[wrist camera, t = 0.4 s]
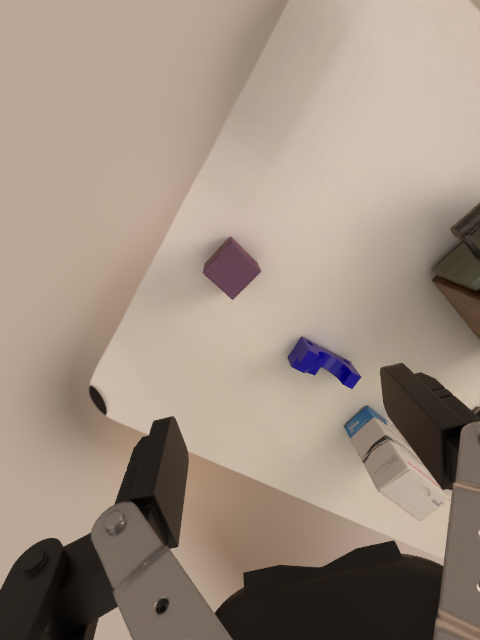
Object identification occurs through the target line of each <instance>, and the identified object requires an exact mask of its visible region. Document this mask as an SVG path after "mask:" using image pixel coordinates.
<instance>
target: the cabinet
mask: <svg viewBox="0 0 480 640" xmlns="http://www.w3.org/2000/svg"><path fill="white" fill-rule="evenodd" d="M432 281H433V283H434V284H435V285H436V286H437V288H438V289H439V290H440V291H441V292H442V294H443V295H444V296H445V297H446V299H447V300H448V301H449V302H450V304H451V305H452V306H453V307H454V308H455V310H456V311H457V312H458V313H459V315H460V316H461V317H462V318H463V319H464V321H465V322H466V323H467V324H468V326H469V327H470V328H471V329H472V331H473V332H474V333H475V334H476V335H477V337H478V338H479V339H480V293H478V292H475V291H473V290H470V289H468V288H465V287H463V286H460V285H458V284H455V283H453V282H451V281H450V280H447V279H445V278H442V277H440V276H436V277H435V278H434V279H433V280H432Z"/></svg>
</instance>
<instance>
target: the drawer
mask: <svg viewBox="0 0 480 640" xmlns="http://www.w3.org/2000/svg"><path fill="white" fill-rule="evenodd" d="M479 224H480V203H479V204H477V205H476V206H475V207H474V208H473V209H472V210H471V211H469V212H468V213H467V214H466V215H465V216H464V217H463V218H462V219H460V220H459V221H458V222H457V223H456V224H455V225H454V226H452V227H451V229H450V230H451V232H452V233H453V235H455V236H456V237H458V238H460V239H462V240H463V243H462V244H461V245H460V246H459V247H458V248H456V249H455V250H454V251H453V252H452V253H451V254H449V255H448V256H447V257H446V258H445V259H444V260H443V261H441V262H440V263H439V264H438V265H437V266H436V267H434V268H433V271H434V272H435V273H436V274H437V276H440V277H442V278H445V279H447V280H450V281H451V282H453V283H455V284H458V285H460V286H463V287H465V288H468V289H470V290H473V291H475V292H478V293H480V229H479V230H477V231H476V232H475V233H474V234H473V235H472V236H470V235H469V234H468V233H470V232H471V231H472V230H473V229H474V228H475V227H476V226H478V225H479Z"/></svg>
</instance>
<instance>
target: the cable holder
mask: <svg viewBox="0 0 480 640" xmlns="http://www.w3.org/2000/svg"><path fill="white" fill-rule="evenodd" d="M288 360H289V363H290V365H291V367H293V368H295V369H297V370H299V371H301V372H303V373H310V374H313V375H315V374H316V373H317V372H318V370H319V369H320V367H323V368H325V369H326V370H328V371H329V372H331V373H332V374H333V375H334V376H336V377H337V378H338V379H339V380H340V381H341V383H342V384H343V385H345V386H347V387H349V388H351V389H353V387H354V386H355V385H356V383H357V382H358V381H359V379H360V378H361V376H360V374H359V373H358V372H357V370H356V369H355V368H354V366H353V365H352V364H351V362H350V361H348V360H346V359H344V358H342V357H340V356H338V355H336V354H334V353H332V352H330V351H328V350H326V349H324V348H323V347H321V346H319V345H317V344H315V343H313V342H311V341H309V340H307V339H305V338H303V337H301V338H300V340H299V341H298V343H297V344H296V346H295V347H294V349H293V350H292V352H291V353H290V355H289V356H288Z"/></svg>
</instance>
